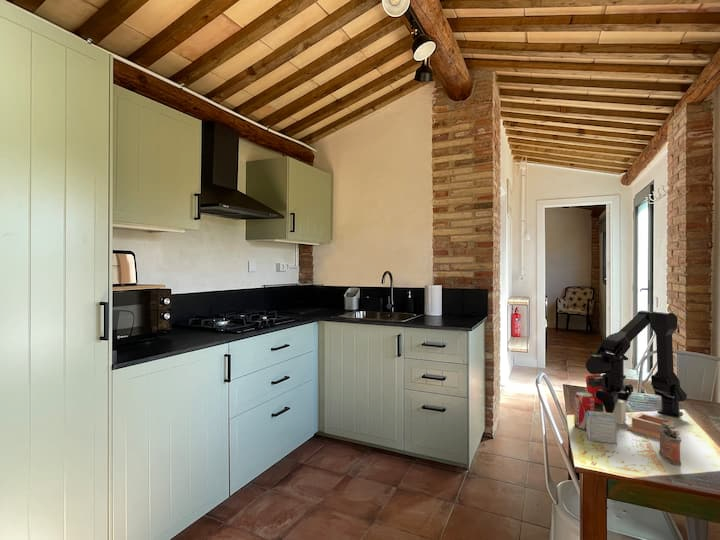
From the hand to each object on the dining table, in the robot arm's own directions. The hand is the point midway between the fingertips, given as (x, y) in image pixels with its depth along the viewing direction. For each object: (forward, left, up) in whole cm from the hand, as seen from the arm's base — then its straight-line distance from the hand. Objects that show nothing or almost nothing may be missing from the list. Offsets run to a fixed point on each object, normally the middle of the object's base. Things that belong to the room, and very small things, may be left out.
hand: (614, 414), depth 146 cm
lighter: (+19, +22, -3) cm, 29 cm away
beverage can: (+15, -4, -3) cm, 16 cm away
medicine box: (+21, +4, -3) cm, 22 cm away
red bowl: (-19, -12, -3) cm, 23 cm away
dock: (0, +12, -2) cm, 12 cm away
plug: (0, 0, -3) cm, 3 cm away
